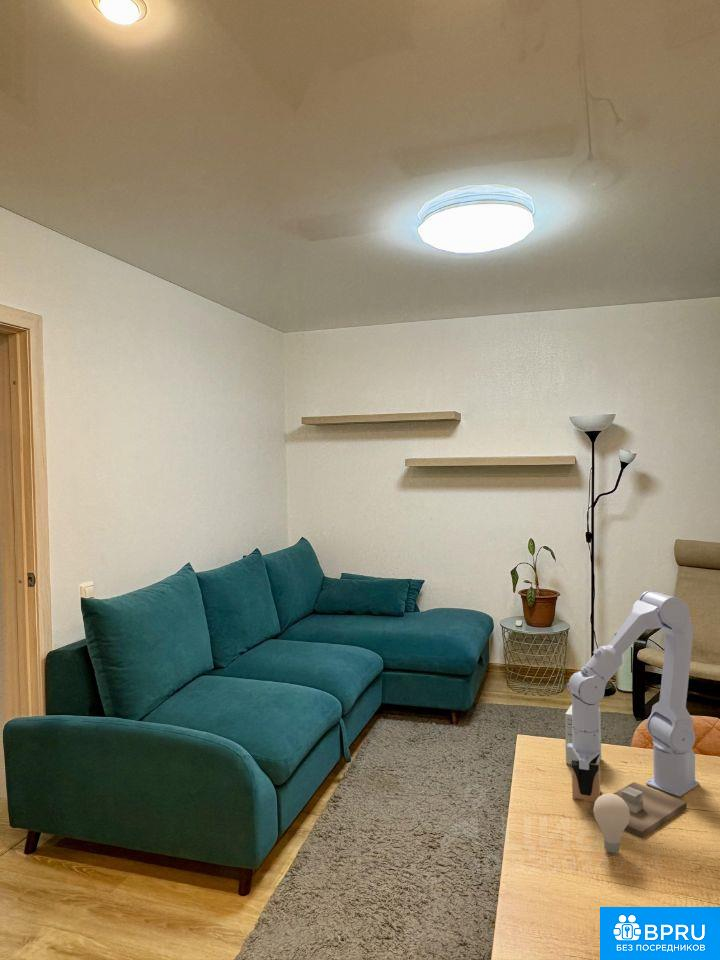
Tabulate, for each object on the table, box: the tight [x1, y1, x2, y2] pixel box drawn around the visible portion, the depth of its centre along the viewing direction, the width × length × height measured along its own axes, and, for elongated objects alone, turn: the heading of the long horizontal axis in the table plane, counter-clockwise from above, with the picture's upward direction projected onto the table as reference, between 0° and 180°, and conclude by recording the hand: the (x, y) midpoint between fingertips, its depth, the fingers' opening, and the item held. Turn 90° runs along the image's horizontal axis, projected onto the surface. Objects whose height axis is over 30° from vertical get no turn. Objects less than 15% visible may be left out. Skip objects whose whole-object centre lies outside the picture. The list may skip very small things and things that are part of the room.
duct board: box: [587, 781, 688, 838], centre depth 142 cm, size 18×12×5 cm, turn 128°
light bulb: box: [593, 792, 630, 854], centre depth 127 cm, size 7×7×11 cm
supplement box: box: [564, 704, 602, 765], centre depth 166 cm, size 7×7×13 cm
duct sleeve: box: [571, 763, 601, 803], centre depth 150 cm, size 6×6×6 cm
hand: (586, 788), depth 150 cm, fingers closed on duct sleeve, 6 cm apart
